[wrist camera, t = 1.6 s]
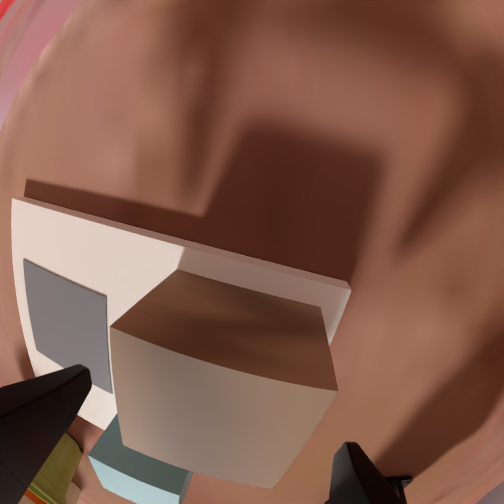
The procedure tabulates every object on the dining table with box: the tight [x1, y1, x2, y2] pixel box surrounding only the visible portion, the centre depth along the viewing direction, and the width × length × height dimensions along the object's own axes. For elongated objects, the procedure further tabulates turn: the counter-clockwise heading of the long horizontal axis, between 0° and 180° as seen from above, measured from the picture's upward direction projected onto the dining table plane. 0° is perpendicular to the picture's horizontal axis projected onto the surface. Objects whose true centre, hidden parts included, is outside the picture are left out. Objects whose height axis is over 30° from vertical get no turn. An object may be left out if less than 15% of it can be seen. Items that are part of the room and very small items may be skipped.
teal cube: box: [88, 414, 193, 504], centre depth 12 cm, size 5×5×5 cm
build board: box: [11, 196, 351, 430], centre depth 14 cm, size 19×16×1 cm
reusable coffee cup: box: [19, 481, 81, 504], centre depth 19 cm, size 13×13×15 cm
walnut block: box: [109, 269, 338, 489], centre depth 9 cm, size 6×6×5 cm
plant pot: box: [28, 432, 83, 504], centre depth 15 cm, size 9×9×9 cm
